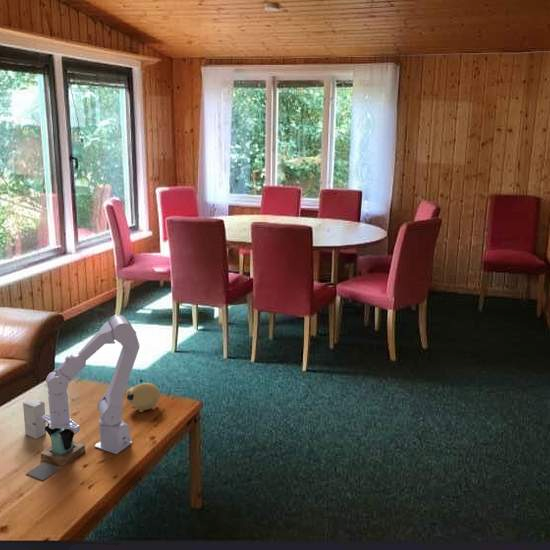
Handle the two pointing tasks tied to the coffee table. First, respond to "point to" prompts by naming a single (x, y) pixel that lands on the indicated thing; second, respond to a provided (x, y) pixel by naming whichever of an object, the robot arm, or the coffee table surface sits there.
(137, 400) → the cream rounded figure
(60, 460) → the block
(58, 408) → the robot arm
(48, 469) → the mat
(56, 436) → the teal block
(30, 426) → the skincare box
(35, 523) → the coffee table surface
